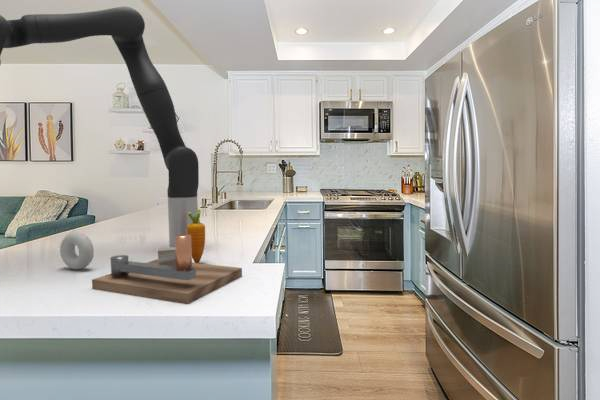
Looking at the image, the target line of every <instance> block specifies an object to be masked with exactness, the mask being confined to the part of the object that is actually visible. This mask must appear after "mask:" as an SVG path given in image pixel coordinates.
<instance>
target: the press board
mask: <svg viewBox="0 0 600 400" xmlns="http://www.w3.org/2000/svg"><path fill="white" fill-rule="evenodd" d="M157 248H158V249H157V259H154V260H151V261H147V262H146V263H150V264H159V265H168V266H176V258H175V247H170V246H169V247H157ZM192 268H194V269H196V277H195V278H193V279H191V280H181V279H173V278H166V277H158V276H151V275H143V274H135V273H129V274H128V275H125V276H119V277H114V276H111V273H108V274H105V275H102V276H99V277H95V278H92V279H91V284H92V286H91V287H92V289H93V290H99V291H100V290H101V291H106V292H111V293H112V292H113V293H118V294H119V293H120V294H125V295H132V296H138V297H145V298H149V299H157V300H163V301H169V302H174V303H181V304H190V303H192V302H194V301H196V300H198V299H201V298H202V297H204V296H206V295H208V294H210V293H212V292H214V291H216V290H218V289H220V288H221V287H223V286H225V285H227V284H229V283H231V282H234V281H236V280H237V279H239V278H241V277H243V268H242V267H238V266H237V267H235V266H226V265H216V264H207V263H201V262H199V263H195V262H192Z"/></svg>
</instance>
